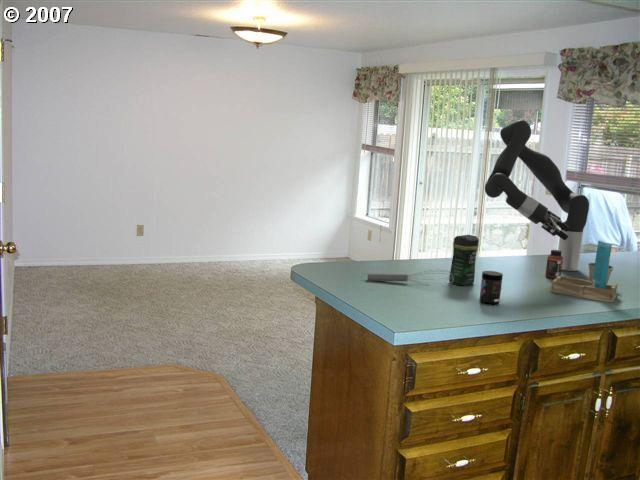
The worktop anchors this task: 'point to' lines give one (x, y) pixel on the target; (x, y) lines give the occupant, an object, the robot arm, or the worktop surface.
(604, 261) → the tube
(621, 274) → the worktop surface
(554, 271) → the supplement bottle
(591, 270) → the flower pot
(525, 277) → the worktop surface
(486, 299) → the supplement container
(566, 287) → the keyhole tray
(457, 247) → the coffee jar
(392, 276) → the kitchen whisk
